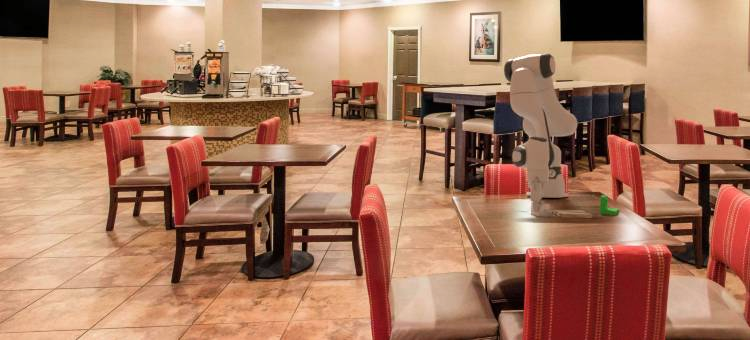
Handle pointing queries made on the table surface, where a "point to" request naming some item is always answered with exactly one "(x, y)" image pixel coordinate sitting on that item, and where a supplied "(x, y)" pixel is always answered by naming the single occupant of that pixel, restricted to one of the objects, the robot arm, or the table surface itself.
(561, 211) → the birch board
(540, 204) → the connector
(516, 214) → the table surface
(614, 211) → the mechanical part
